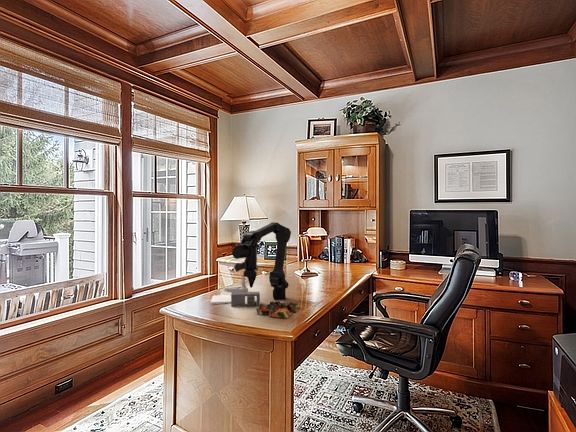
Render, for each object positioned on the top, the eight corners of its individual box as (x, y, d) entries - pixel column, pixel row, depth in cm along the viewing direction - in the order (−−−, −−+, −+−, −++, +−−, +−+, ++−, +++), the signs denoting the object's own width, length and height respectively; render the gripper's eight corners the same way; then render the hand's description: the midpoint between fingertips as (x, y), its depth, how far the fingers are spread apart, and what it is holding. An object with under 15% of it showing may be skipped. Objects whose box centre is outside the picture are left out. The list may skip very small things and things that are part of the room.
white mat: (234, 296, 197) (234, 295, 197) (233, 303, 183) (233, 301, 183) (212, 297, 195) (212, 295, 195) (210, 304, 182) (210, 302, 181)
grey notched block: (259, 302, 184) (259, 291, 184) (259, 305, 179) (259, 293, 179) (231, 303, 182) (231, 292, 182) (231, 306, 177) (231, 294, 177)
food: (270, 304, 183) (270, 297, 183) (304, 308, 176) (304, 301, 176) (251, 316, 163) (251, 308, 163) (288, 321, 156) (288, 313, 156)
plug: (254, 300, 189) (254, 293, 189) (254, 306, 177) (254, 298, 177) (247, 300, 189) (247, 293, 189) (246, 306, 177) (246, 298, 177)
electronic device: (227, 274, 215) (249, 275, 210) (227, 290, 215) (249, 291, 210) (222, 276, 210) (245, 277, 205) (223, 292, 210) (245, 293, 205)
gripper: (237, 254, 185) (237, 283, 186) (232, 259, 167) (232, 291, 167) (258, 254, 186) (258, 283, 186) (256, 259, 167) (256, 291, 167)
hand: (251, 287), depth 177 cm, fingers closed
